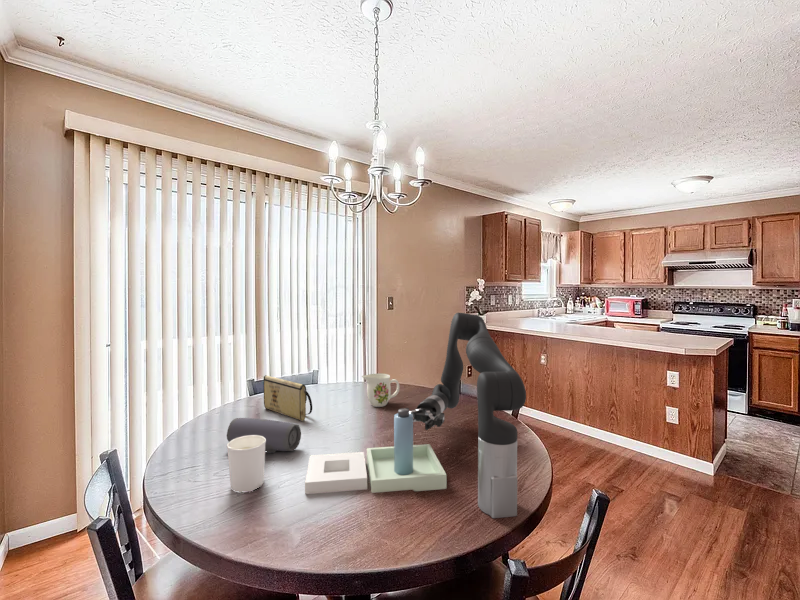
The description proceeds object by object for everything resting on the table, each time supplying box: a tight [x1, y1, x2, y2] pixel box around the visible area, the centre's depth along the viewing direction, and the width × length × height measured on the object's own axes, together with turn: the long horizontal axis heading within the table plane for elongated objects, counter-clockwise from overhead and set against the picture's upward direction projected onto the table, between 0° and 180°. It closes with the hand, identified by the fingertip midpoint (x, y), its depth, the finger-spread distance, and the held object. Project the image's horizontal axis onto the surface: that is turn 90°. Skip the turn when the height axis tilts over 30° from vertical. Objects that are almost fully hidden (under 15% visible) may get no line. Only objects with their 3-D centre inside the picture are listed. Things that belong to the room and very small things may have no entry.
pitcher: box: [361, 373, 400, 408], centre depth 175 cm, size 11×18×14 cm, turn 111°
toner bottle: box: [393, 408, 414, 475], centre depth 111 cm, size 6×6×18 cm
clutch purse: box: [263, 374, 313, 422], centre depth 163 cm, size 30×7×15 cm, turn 52°
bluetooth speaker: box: [226, 417, 302, 453], centre depth 127 cm, size 23×9×10 cm, turn 74°
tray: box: [366, 443, 447, 494], centre depth 111 cm, size 20×20×4 cm
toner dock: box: [304, 451, 368, 495], centre depth 108 cm, size 16×16×4 cm
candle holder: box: [226, 435, 266, 492], centre depth 104 cm, size 10×10×12 cm
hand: (413, 424), depth 117 cm, fingers open, 8 cm apart
